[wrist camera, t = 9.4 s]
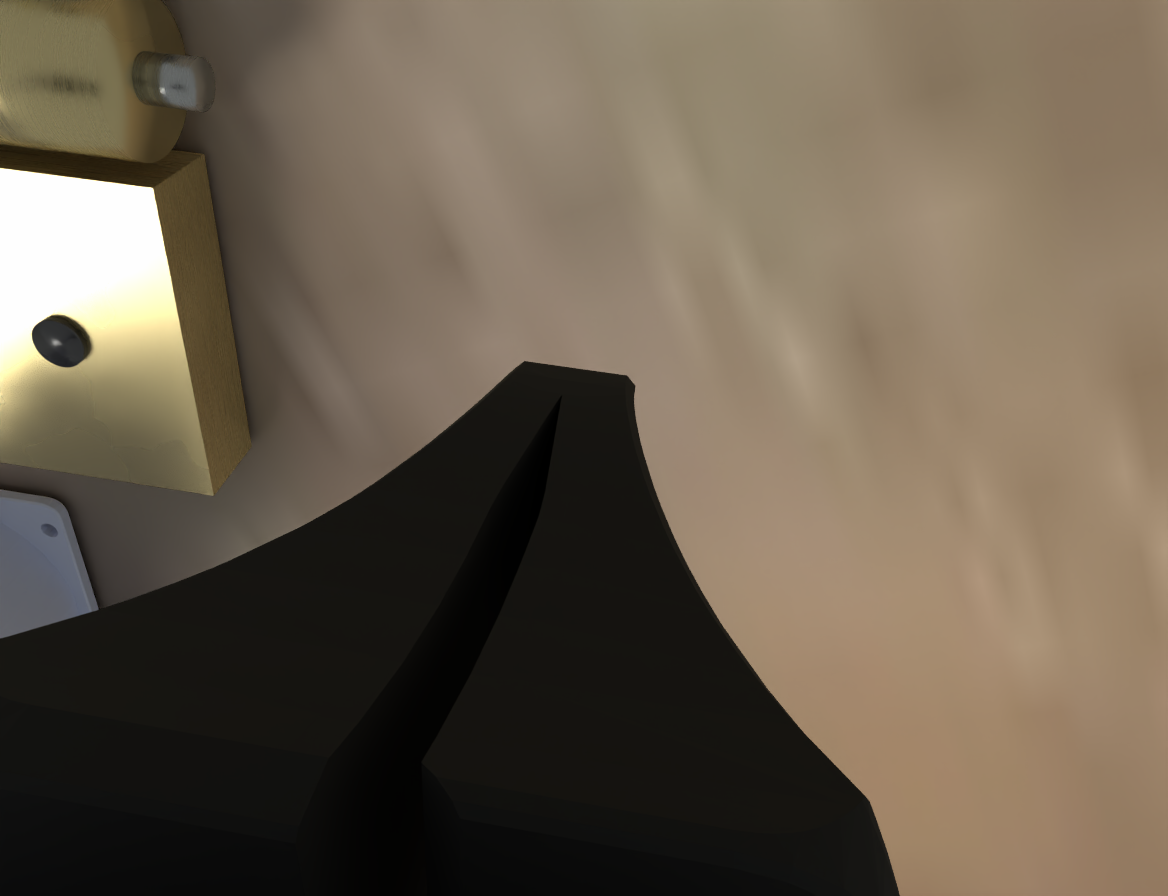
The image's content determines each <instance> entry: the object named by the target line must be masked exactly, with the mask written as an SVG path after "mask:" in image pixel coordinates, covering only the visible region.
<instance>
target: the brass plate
mask: <svg viewBox="0 0 1168 896" xmlns="http://www.w3.org/2000/svg"><path fill="white" fill-rule="evenodd" d="M214 96H215V78H214V73H213V70H212V67H211V65H210V64H209V62H208V61H207V60H206V59H205V58H202V57H194V56H186V54H185V49H184V45H183V41H182V38H181V35H180V32H179V29H178V27H177V24H176V22H175V20H174V18H173V16H172V14H171V13H170V11H169V10H168V8H167V7H166V5H165V4H164V3H163V2H162V1H161V0H0V462H1V463H8V464H14V465H20V466H27V467H33V468H40V469H46V470H52V471H59V472H65V473H71V474H78V475H84V476H91V477H97V478H103V479H110V480H116V481H122V482H129V483H135V484H142V485H148V486H154V487H161V488H167V489H173V490H180V491H186V492H193V493H199V494H205V495H212V496H214V495H215V494H216V492H217V491H218V490H219V488H220V487H221V486H222V484H223V483H224V482H225V481H226V479H227V478H228V477H229V475H230V474H231V473H232V471H233V470H234V469H235V467H236V466H237V465H238V464H239V462H240V461H241V460H242V458H243V457H244V456H245V454H246V453H247V452H248V450H249V449H250V448H251V447H252V446H251V440H250V433H249V427H248V421H247V415H246V409H245V403H244V396H243V390H242V384H241V378H240V372H239V366H238V359H237V353H236V347H235V341H234V335H233V329H232V322H231V316H230V310H229V304H228V298H227V292H226V285H225V279H224V273H223V267H222V261H221V255H220V248H219V242H218V236H217V230H216V224H215V218H214V211H213V205H212V199H211V193H210V187H209V181H208V174H207V168H206V162H205V156H204V154H201V153H193V152H185V151H177V150H172V149H173V147H174V146H175V144H176V142H177V140H178V138H179V136H180V134H181V131H182V129H183V125H184V122H185V117H186V112H187V110H190V111H199V112H206V111H208V110H209V109H210V107H211V105H212V103H213V100H214Z"/></svg>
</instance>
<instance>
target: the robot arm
mask: <svg viewBox="0 0 1168 896" xmlns="http://www.w3.org/2000/svg"><path fill="white" fill-rule="evenodd" d="M634 393H635V385H634V384H633V382H632V381H631V380H630V379H629V377H628V376H626V375H619V374H612V373H605V372H597V371H590V370H583V369H576V368H569V367H562V366H555V365H548V364H541V363H534V362H527V361H524V362H523V363H522V364H520V365H519V366H518V367H516V368H515V369H514V370H513V371H511V372H510V373H509V374H508V375H507V376H506V377H505V378H504V379H503V380H502V381H501V382H500V383H498V384H497V385H496V386H495V387H494V388H493V389H492V390H491V391H490V392H489V393H488V394H486V395H485V396H484V397H483V398H482V399H481V400H480V401H479V402H478V403H476V404H475V405H474V406H473V407H472V408H471V409H470V410H468V411H467V412H466V413H465V414H464V415H463V416H461V417H460V418H459V419H458V420H457V421H455V422H454V423H453V424H452V425H451V426H449V427H448V428H447V429H446V430H445V431H443V432H442V433H441V434H440V435H438V436H437V437H436V438H435V439H434V440H432V441H431V442H430V443H429V444H427V445H426V446H425V447H424V448H422V449H421V450H420V451H418V452H417V453H416V454H414V455H413V456H411V457H410V458H409V459H407V460H406V461H405V462H403V463H402V464H400V465H399V466H398V467H396V468H395V469H394V470H392V471H391V472H389V473H388V474H387V475H385V476H384V477H382V478H381V479H380V480H378V481H377V482H375V483H374V484H372V485H371V486H369V487H368V488H366V489H365V490H363V491H362V492H360V493H359V494H357V495H356V496H354V497H353V498H351V499H349V500H348V501H346V502H344V503H342V504H341V505H339V506H337V507H335V508H334V509H332V510H330V511H328V512H327V513H325V514H323V515H321V516H320V517H318V518H316V519H314V520H313V521H311V522H309V523H307V524H305V525H303V526H301V527H299V528H297V529H295V530H293V531H291V532H289V533H287V534H285V535H283V536H281V537H278V538H276V539H274V540H272V541H270V542H268V543H266V544H264V545H262V546H260V547H257V548H255V549H253V550H251V551H249V552H247V553H245V554H243V555H241V556H238V557H236V558H234V559H232V560H230V561H228V562H226V563H223V564H221V565H219V566H216V567H214V568H211V569H209V570H206V571H204V572H201V573H199V574H196V575H194V576H191V577H189V578H186V579H184V580H181V581H179V582H176V583H174V584H171V585H168V586H165V587H163V588H160V589H157V590H154V591H152V592H149V593H146V594H143V595H141V596H138V597H135V598H132V599H130V600H127V601H124V602H121V603H118V604H115V605H112V606H109V607H106V608H103V609H98V606H97V602H96V599H95V596H94V593H93V590H92V587H91V583H90V580H89V577H88V574H87V571H86V568H85V565H84V561H83V558H82V555H81V552H80V549H79V546H78V543H77V539H76V536H75V533H74V530H73V527H72V524H71V520H70V517H69V514H68V512H67V510H66V508H65V506H64V505H63V504H62V503H61V502H59V501H57V500H56V499H53V498H50V497H44V496H38V495H32V494H25V493H19V492H13V491H7V490H0V896H900V895H899V891H898V887H897V883H896V880H895V877H894V873H893V870H892V866H891V863H890V859H889V856H888V853H887V850H886V847H885V844H884V841H883V838H882V835H881V832H880V829H879V826H878V823H877V820H876V817H875V815H874V812H873V809H872V807H871V804H870V802H869V800H868V799H867V798H866V797H865V795H864V794H863V793H862V792H861V791H860V790H859V789H858V788H857V787H856V786H855V785H854V784H853V783H852V782H851V781H850V780H849V779H848V778H847V777H846V776H845V775H844V774H843V773H842V772H841V771H840V770H839V769H838V768H837V767H836V766H835V765H834V764H833V763H832V761H831V760H830V759H829V758H828V757H827V756H826V755H825V754H824V753H823V752H822V751H821V750H820V749H819V748H818V747H817V746H816V745H815V744H814V743H813V742H812V741H811V740H810V739H809V738H808V737H807V736H806V735H805V734H804V732H803V731H802V730H801V729H800V728H799V727H798V725H797V724H796V723H795V722H794V721H793V719H792V718H791V717H790V716H789V714H788V713H787V712H786V711H785V710H784V708H783V707H782V706H781V705H780V704H779V702H778V701H777V700H776V699H775V697H774V696H773V695H772V694H771V693H770V691H769V690H768V689H767V688H766V686H765V685H764V683H763V682H762V681H761V679H760V678H759V676H758V675H757V674H756V672H755V671H754V669H753V668H752V667H751V665H750V664H749V662H748V661H747V660H746V658H745V657H744V655H743V654H742V653H741V651H740V650H739V648H738V647H737V646H736V644H735V643H734V641H733V640H732V639H731V637H730V636H729V634H728V633H727V632H726V630H725V629H724V627H723V626H722V624H721V623H720V621H719V619H718V618H717V616H716V614H715V613H714V611H713V609H712V608H711V606H710V604H709V603H708V601H707V599H706V598H705V596H704V594H703V593H702V591H701V589H700V587H699V586H698V584H697V582H696V580H695V578H694V576H693V575H692V573H691V571H690V569H689V567H688V565H687V563H686V561H685V559H684V557H683V555H682V553H681V551H680V549H679V547H678V545H677V543H676V540H675V538H674V536H673V534H672V532H671V529H670V527H669V524H668V522H667V520H666V517H665V515H664V512H663V510H662V508H661V505H660V502H659V500H658V497H657V494H656V491H655V489H654V486H653V483H652V480H651V476H650V473H649V470H648V467H647V463H646V460H645V457H644V454H643V450H642V446H641V442H640V438H639V433H638V428H637V423H636V417H635V409H634Z"/></svg>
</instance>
